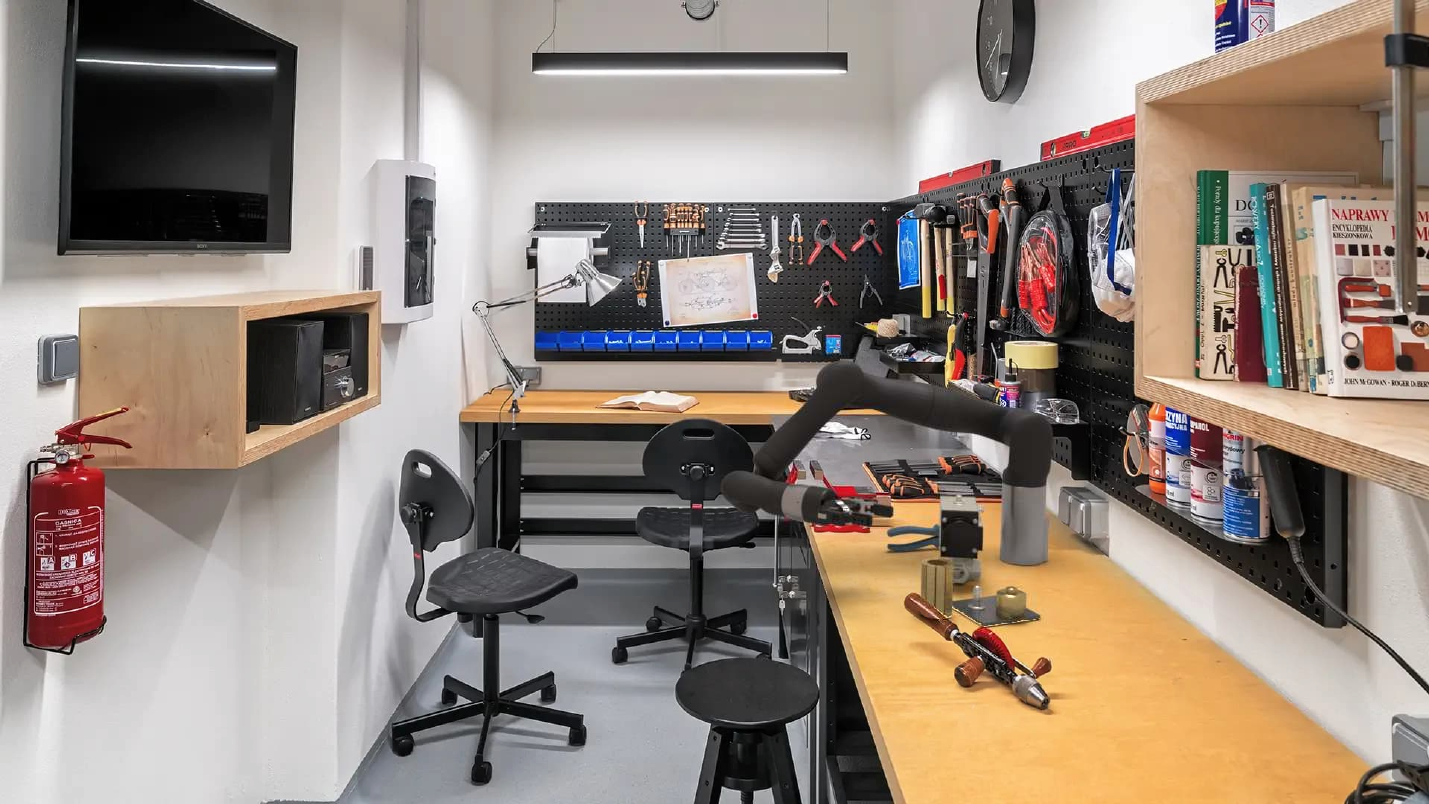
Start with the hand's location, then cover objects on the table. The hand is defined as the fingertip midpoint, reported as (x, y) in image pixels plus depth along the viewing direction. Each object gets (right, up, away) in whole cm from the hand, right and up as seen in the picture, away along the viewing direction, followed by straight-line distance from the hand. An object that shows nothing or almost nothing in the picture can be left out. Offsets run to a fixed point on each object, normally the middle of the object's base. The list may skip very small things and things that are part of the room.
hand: (882, 516), depth 179 cm
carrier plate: (+20, -17, -4) cm, 27 cm away
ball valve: (+19, -15, +16) cm, 29 cm away
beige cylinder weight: (+22, -18, -7) cm, 29 cm away
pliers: (+17, -12, +37) cm, 43 cm away
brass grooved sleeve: (+9, -18, -4) cm, 20 cm away
